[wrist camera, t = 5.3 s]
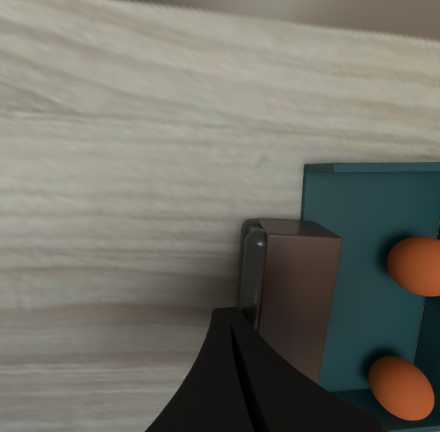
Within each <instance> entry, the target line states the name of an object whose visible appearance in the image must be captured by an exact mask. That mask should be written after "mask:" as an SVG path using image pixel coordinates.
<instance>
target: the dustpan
mask: <svg viewBox="0 0 440 432" xmlns="http://www.w3.org/2000/svg"><path fill="white" fill-rule="evenodd" d="M439 220H440V162H417V163H326V164H305V168H304V184H303V200H302V216H301V221H313V222H316V223H318V224H320V225H321V226H323V227H325V228H327V229H328V230H330V231H332V232H333V233H335V234H337V235H338V236H340V237H342V238H343V242H342V247H341V253H340V259H339V265H338V271H337V277H336V282H335V288H334V294H333V300H332V306H331V311H330V317H329V323H328V329H327V335H326V341H325V346H324V352H323V358H322V364H321V370H320V375H319V381H318V385H320V386H321V387H323V388H324V389H326V390H327V391H329V392H331V393H332V394H334V395H336V396H337V397H339V398H341V399H342V400H344V401H346V402H348V403H349V404H351V405H353V406H355V407H357V408H359V409H361V410H363V411H365V412H367V413H369V414H370V415H372V416H374V417H376V418H378V419H379V420H380V421H381V423H382V424H383V425H384V426H385V428H386V429H387V430H388V431H389V432H437V431H440V296H426V300H425V296H422V295H417V294H414V293H412V292H409V291H407V290H406V289H404V288H402V287H401V286H400V285H398V284H397V283H396V282H395V281H394V279H393V278H392V277H391V275H390V273H389V271H388V267H387V258H388V254H389V252H390V250H391V249H392V248H393V247H394V246H395V245H396V244H397V243H398V242H400V241H402V240H404V239H407V238H411V237H419V236H422V237H431V238H435V239H436V236H437V239H438V240H440V224H439ZM438 225H439V230H438ZM437 230H438V235H437ZM424 301H425V305H424ZM423 306H424V310H423ZM422 311H423V316H422ZM421 317H422V321H421ZM420 322H421V326H420ZM419 327H420V332H419ZM418 333H419V337H418ZM417 338H418V342H417ZM416 344H417V348H416ZM415 349H416V353H415ZM414 354H415V359H414ZM385 356H395V357H399V358H402V359H405V360H407V361H409V362H410V363H412V364H413V360H414V364H413V365H415V366H416V367H417V368H418V369H419V370H420V371H421V372H422V373H423V374H424V375H425V376H426V378H427V379H428V381H429V383H430V385H431V387H432V389H433V393H434V406H433V409H432V411H431V413H430V414H429V415H428V416H427V417H425V418H423V419H421V420H405V419H402V418H399V417H397V416H395V415H393V414H392V413H390V412H389V411H387V410H386V409H385V408H384V407H383V406H382V405H381V404H380V403H379V402H378V400H377V399H376V398H375V396H374V394H373V392H372V390H371V388H370V384H369V370H370V367H371V365H372V364H373V363H374V362H375V361H376V360H377V359H379V358H381V357H385Z"/></svg>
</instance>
